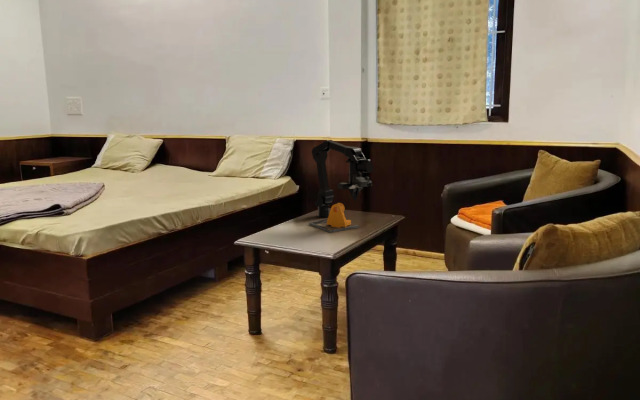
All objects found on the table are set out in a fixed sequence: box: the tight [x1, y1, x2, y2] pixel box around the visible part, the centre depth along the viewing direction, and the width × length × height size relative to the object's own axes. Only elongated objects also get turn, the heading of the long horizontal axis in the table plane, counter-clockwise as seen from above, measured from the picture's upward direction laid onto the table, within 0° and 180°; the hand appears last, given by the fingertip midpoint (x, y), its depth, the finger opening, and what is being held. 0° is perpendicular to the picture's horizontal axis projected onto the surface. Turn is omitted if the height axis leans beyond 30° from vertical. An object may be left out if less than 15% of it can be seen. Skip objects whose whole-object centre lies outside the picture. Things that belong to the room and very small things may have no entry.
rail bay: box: [308, 219, 360, 234], centre depth 265 cm, size 21×18×1 cm
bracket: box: [326, 202, 352, 228], centre depth 265 cm, size 11×7×12 cm, turn 58°
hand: (355, 200), depth 270 cm, fingers closed
